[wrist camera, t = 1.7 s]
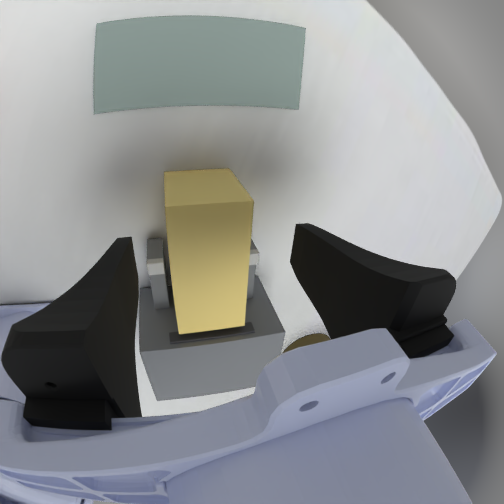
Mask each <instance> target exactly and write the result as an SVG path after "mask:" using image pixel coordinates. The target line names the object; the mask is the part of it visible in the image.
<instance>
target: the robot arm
mask: <svg viewBox="0 0 504 504" xmlns="http://www.w3.org/2000/svg"><path fill="white" fill-rule="evenodd" d="M290 263H291V265H292V268H293V270H294V273H295V275H296V277H297V279H298V281H299V283H300V284H301V286H302V288H303V289H304V291H305V292H306V294H307V296H308V297H309V299H310V300H311V302H312V304H313V305H314V307H315V308H316V310H317V312H318V313H319V315H320V317H321V319H322V321H323V323H324V325H325V327H326V329H327V331H328V334H329V336H330V338H331V340H328V341H324V342H320V343H316V344H311V345H307V346H302V347H298V348H296V349H293V350H290V351H288V352H285V353H282V354H280V355H279V356H277V357H276V358H275V359H273V360H272V361H270V362H269V363H268V364H266V365H265V367H264V368H263V370H262V372H261V373H260V375H259V377H258V378H257V381H256V388H255V392H254V394H251V395H249V396H246V397H243V398H240V399H237V400H234V401H232V402H229V403H226V404H223V405H220V406H216V407H213V408H210V409H207V410H204V411H200V412H192V413H184V414H174V415H164V416H152V417H142V414H141V408H140V401H139V393H138V385H137V375H136V362H135V330H136V318H137V308H138V298H139V291H138V273H137V267H136V262H135V256H134V250H133V244H132V237H124V238H117V239H116V240H115V242H114V243H113V244H112V245H111V246H110V248H109V249H108V250H107V251H106V252H105V254H104V255H103V256H102V257H101V258H100V260H99V261H98V262H97V263H96V264H95V265H94V266H93V267H92V268H91V269H90V270H89V272H88V273H87V274H86V275H85V276H84V277H83V278H82V279H81V280H80V281H78V282H77V283H76V284H75V285H74V286H73V287H72V288H71V289H69V290H68V291H67V292H65V293H64V294H63V295H61V296H60V297H59V298H57V299H56V300H55V301H53V302H52V303H42V304H25V305H4V306H0V504H93V501H94V500H95V501H103V502H113V503H125V504H473V503H472V501H471V500H470V498H469V496H468V494H467V493H466V491H465V489H464V487H463V485H462V484H461V482H460V480H459V478H458V477H457V475H456V473H455V472H454V470H453V468H452V467H451V465H450V463H449V462H448V460H447V458H446V457H445V455H444V453H443V452H442V450H441V448H440V447H439V445H438V443H437V442H436V440H435V439H434V437H433V435H432V434H431V432H430V431H429V429H428V428H427V426H426V424H425V423H424V421H423V420H425V419H426V418H428V417H429V416H431V415H432V414H433V413H435V412H436V411H438V410H439V409H440V408H442V407H443V406H445V405H446V404H447V403H449V402H450V401H451V400H453V399H454V398H455V397H457V396H458V395H459V394H461V393H462V392H463V391H465V390H466V389H467V388H469V387H470V385H471V384H472V383H473V382H474V381H475V380H476V379H477V377H478V376H479V375H480V374H481V373H482V372H483V370H484V369H485V368H486V367H487V366H488V364H489V363H490V362H491V360H492V359H493V358H494V357H495V355H496V351H495V350H494V349H493V348H492V347H491V345H490V344H489V343H488V342H487V341H486V340H485V338H484V337H483V336H482V335H481V334H480V333H479V332H478V331H477V329H476V328H475V327H474V326H473V325H472V324H471V323H470V322H469V321H468V320H467V319H463V320H461V321H459V322H457V323H455V324H453V325H452V326H451V327H450V328H449V329H448V328H447V326H446V325H445V323H446V322H447V319H446V317H444V315H443V314H444V312H445V310H446V309H447V307H448V305H449V303H450V301H451V299H452V297H453V295H454V293H455V289H456V280H455V278H454V277H453V276H452V275H451V274H450V273H449V272H448V271H446V270H444V269H437V268H429V267H422V266H417V265H412V264H408V263H404V262H400V261H396V260H393V259H389V258H386V257H383V256H380V255H378V254H375V253H372V252H370V251H367V250H365V249H363V248H360V247H358V246H356V245H354V244H352V243H349V242H347V241H345V240H343V239H341V238H339V237H337V236H335V235H333V234H331V233H329V232H327V231H325V230H323V229H321V228H319V227H317V226H314V225H312V224H309V223H305V224H296V227H295V234H294V240H293V246H292V253H291V259H290Z"/></svg>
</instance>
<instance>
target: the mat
mask: <svg viewBox="0 0 504 504" xmlns="http://www.w3.org/2000/svg"><path fill="white" fill-rule="evenodd" d="M305 31H306V28H303V27H298V26H293V25H287V24H282V23H276V22H269V21H262V20H254V19H245V18H234V17H219V16H158V17H144V18H133V19H125V20H117V21H110V22H104V23H98V24H97V25H96V36H95V51H94V80H93V98H94V114H99V113H106V112H114V111H122V110H131V109H142V108H154V107H170V106H198V105H229V106H257V107H273V108H286V109H297V110H298V109H299V99H300V89H301V78H302V67H303V56H304V44H305Z"/></svg>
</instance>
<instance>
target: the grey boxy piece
mask: <svg viewBox="0 0 504 504" xmlns="http://www.w3.org/2000/svg"><path fill="white" fill-rule="evenodd" d="M258 263H259V252H258V250H257V248H256V246H255V245H254V243H253V241H252V239H251V246H250V259H249V273H248V286H247V300H246V314H245V326H239V327H232V328H225V329H218V330H210V331H203V332H195V333H186V334H179V332H178V325H177V318H176V311H175V304H174V296H173V288H172V285H171V286H168V284H167V276H166V268H165V260H164V250H163V240H162V238H160V239H149V240H148V241H147V271H148V275H149V278H150V284H151V288H141V289H140V309H139V345H140V355H141V358H142V361H143V364H144V366H145V369H146V372H147V375H148V378H149V381H150V383H151V386H152V389H153V391H154V394H155V396H156V399H157V401H161V400H171V399H180V398H189V397H196V396H204V395H210V394H217V393H223V392H229V391H235V390H240V389H246V388H251V387H256V381H257V378H258V377H259V375H260V373H261V372H262V370H263V368H264V367H265V365H266V364H268V363H269V362H270V361H272V360H273V359H275V358H276V357H277V356H279V355H280V354H281V350H282V345H283V341H284V336H285V330H284V328H283V326H282V324H281V322H280V320H279V318H278V316H277V314H276V312H275V310H274V308H273V306H272V304H271V302H270V300H269V298H268V296H267V294H266V292H265V290H264V288H263V286H262V284H261V282H260V280H259V278H258V276H255V267H256V264H258Z"/></svg>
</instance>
